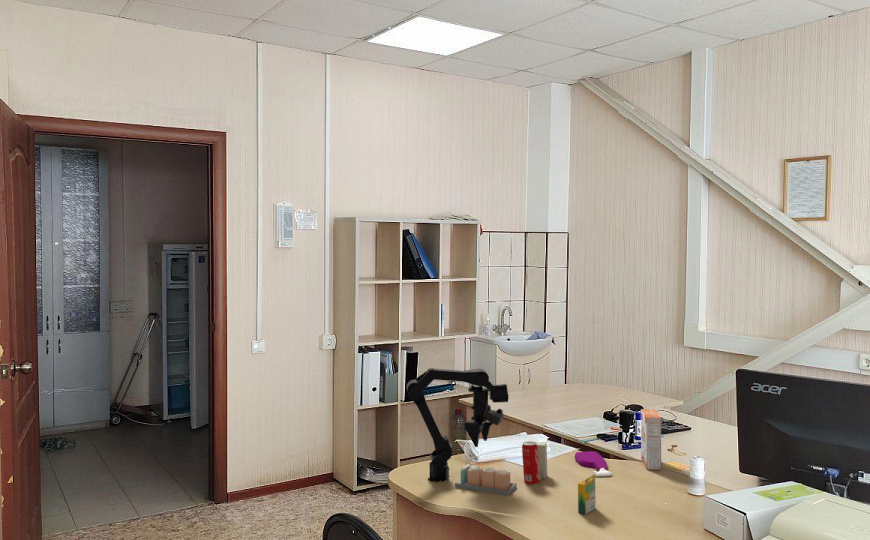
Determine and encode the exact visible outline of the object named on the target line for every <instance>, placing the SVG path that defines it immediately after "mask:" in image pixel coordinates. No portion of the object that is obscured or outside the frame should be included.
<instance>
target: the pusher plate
mask: <svg viewBox="0 0 870 540" xmlns="http://www.w3.org/2000/svg"><path fill="white" fill-rule="evenodd" d="M470 467H471V465H470V464H469V463H468V464H466V465H465V466H463V467H462V468H461V469H460V483H462V484H465V483H466V482H468V470H469V469H470Z"/></svg>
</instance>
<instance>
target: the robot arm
mask: <svg viewBox="0 0 870 540" xmlns="http://www.w3.org/2000/svg"><path fill="white" fill-rule="evenodd" d="M436 380H437V381H448V382H450V381H451V382H461V383H467V384H470V386H469V387H468V388H467V390H468V391H467V392H470V393H472V405H471V407H470V409H471V410H472V416H471V417H470V419H469V420H468V421H466V422H465V423H464V424H463V428H464V429H463V430H465V432H467V434H468V436H469V437H470V439H471V442H472V444H473V446H474V447H475V448H478V447H479V441H480V434H481V435H482V440H483V441H485V442H486V441H488V437H489V433H490V430H491V427H492V426H493V425H495V426H499V425H500V424H501V423H502V421H503V419H504V418H505V417H504V411H503V409H501V408H498V409H492V407H491V404H489V400H490V401H492V403H494V404H495V403H508V402H509V398H510V397H509V395H510V394H509V392H508V390H509V389H508V384H507V383H502V384H493V383H492V382H491V381H490V376H489V374H488V373H487V372H486V370H484V369H483V368H473V369H472V368H471V369H468V370H458V369H443V368H435V367H429V368H427V370H425V371H424V372H423V373H422V374H420V375H419V376H417V377H416V378H415V379H411V380H409V381H408V382H407V384H406V391H407V395H408V396H409V397H410V399H411V400H412V402H413V403H414V404H415V406H417V408H418V411H419V412H420V414H421V417H422V419H423V421H424V423H425V426H426V428H427V430H428V432H429V434H430V436H431V439H432V441H433V445H434V450H433V451H432V452H431V453H430V454H429V456H430V462H428V463H429V477H427V481H431V482H438V483H439V482H445V481H447V480H448V479H449V478H450V477H451V476H450V467H449V462H448V461H449V460H450V459H451V458H452V456H453V451H452V450H454V449H453V445H452V443H451V442H450V441H449V437H448V435H445V436H443V434H442V433H441V431H440V429H439V427H438V425H437V422H436V420H435V418H434V416H433V414H432V412H431V410H430V407H429V404H428V402H427V400H426V396H425V393H424V390H425V389H426V388H428V386H429V385H430V384H431V383H432V382H433V381H436ZM483 387H484V388H483Z"/></svg>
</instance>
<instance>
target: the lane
mask: <svg viewBox="0 0 870 540" xmlns="http://www.w3.org/2000/svg"><path fill="white" fill-rule="evenodd" d="M454 488H457V489H463V490H470V491H476V492H482V493H488V494H497V495H502V496H510V495H511V494H512V493H513V492H514V491H515V490H516V489H517V483H516V482H510V488H509V489H508V490H502V489H495V488H489V487H482V486H476V485H469V484H468V482H466V483H465V484H462V483H461V482H455V483H454Z"/></svg>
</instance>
